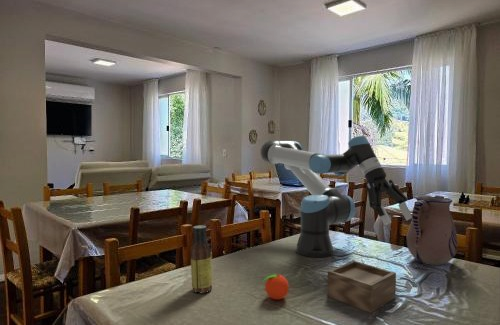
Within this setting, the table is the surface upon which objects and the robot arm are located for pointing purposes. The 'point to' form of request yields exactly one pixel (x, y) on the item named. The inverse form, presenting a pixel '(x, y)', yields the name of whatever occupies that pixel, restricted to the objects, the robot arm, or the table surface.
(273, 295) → the clementine
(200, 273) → the sauce bottle
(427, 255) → the ceramic pitcher
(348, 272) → the walnut tray
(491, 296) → the table surface
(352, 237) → the table surface
